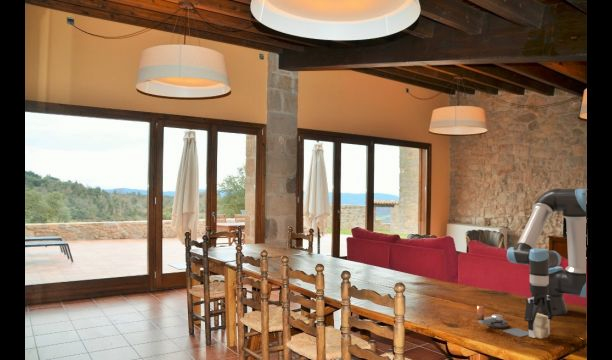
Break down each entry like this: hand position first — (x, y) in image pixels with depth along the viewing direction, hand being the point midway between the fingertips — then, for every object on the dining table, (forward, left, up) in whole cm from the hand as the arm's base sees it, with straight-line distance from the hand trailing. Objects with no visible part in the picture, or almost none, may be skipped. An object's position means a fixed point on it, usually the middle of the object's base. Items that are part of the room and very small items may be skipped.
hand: (539, 335), depth 195 cm
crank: (+10, -18, +2) cm, 21 cm away
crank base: (+5, -18, 0) cm, 19 cm away
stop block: (0, 0, 0) cm, 0 cm away
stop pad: (+5, -7, 0) cm, 9 cm away
